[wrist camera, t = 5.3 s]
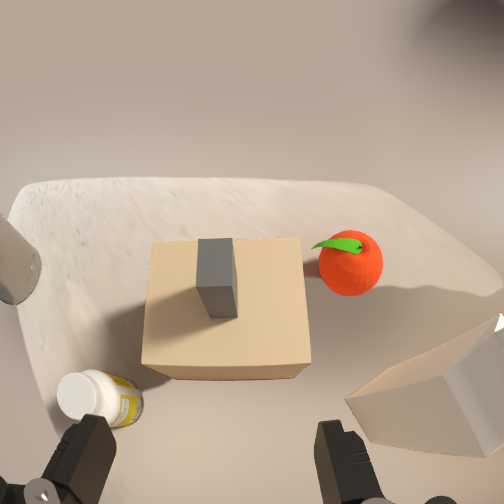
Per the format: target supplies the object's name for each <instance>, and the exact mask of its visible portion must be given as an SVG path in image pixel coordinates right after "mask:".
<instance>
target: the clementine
mask: <svg viewBox="0 0 504 504" xmlns="http://www.w3.org/2000/svg"><path fill="white" fill-rule="evenodd" d="M316 247H323V248H322V250H321V253H320V256H319V270H320V274H321V277H322V278H323V280H324V282H325V283H326V285H327V286H328V287H329V288H330V289H331V290H333V291H335V292H336V293H338V294H341V295H346V296H357V295H361V294H363V293H365V292H367V291H369V290H370V289H371V288H372V287H373V286H374V285H375V284H376V283H377V281H378V279H379V278H380V275H381V273H382V268H383V260H382V253H381V250H380V248H379V246H378V245H377V243H376V242H375V241H374V240H373V239H372V238H371V237H369V236H368V235H366V234H365V233H362V232H359V231H353V230H348V231H343V232H340V233H338V234H336V235H334V236H332V237H331V238H330V239H329V240H326V241H323V242H321V243H318V244H317V245H315V246H314V247H313V248H316ZM313 248H312V249H313Z"/></svg>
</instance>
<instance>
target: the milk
mask: <svg viewBox="0 0 504 504" xmlns="http://www.w3.org/2000/svg"><path fill="white" fill-rule="evenodd" d="M344 400H345V401H346V403H347V404H348V406H349V408H350V409H351V411H352V413H353V414H354V416H355V418H356V419H357V421H358V423H359V424H360V426H361V428H362V429H363V431H364V432H365V434H366V436H367V437H368V439H369V441H370V442H371V443H375V444H381V445H385V446H391V447H396V448H402V449H408V450H414V451H421V452H428V453H435V454H444V455H453V456H464V457H479V458H486V457H488V456H490V455H491V454H492V453H494V452H495V451H497V449H499V448H501V447H502V446H503V445H504V317H503V315H502V314H501V313H500V314H498V315H497V316H495V317H493V318H491V319H490V320H488V321H486V322H484V323H482V324H481V325H479V326H477V327H475V328H473V329H471V330H470V331H468V332H466V333H464V334H462V335H460V336H458V337H456V338H454V339H452V340H450V341H448V342H446V343H444V344H442V345H440V346H438V347H436V348H433V349H431V350H429V351H427V352H425V353H423V354H420V355H418V356H416V357H414V358H411V359H409V360H407V361H405V362H402V363H400V364H397V365H395V366H392V367H390V368H388V369H386V370H385V371H383V372H382V373H381V374H379V375H378V376H377V377H375V378H374V379H372V380H371V381H370V382H368V383H367V384H365V385H364V386H362V387H361V388H359V389H358V390H357V391H355V392H354V393H352V394H351V395H349V396H348V397H346V398H345V399H344Z"/></svg>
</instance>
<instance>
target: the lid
mask: <svg viewBox="0 0 504 504" xmlns="http://www.w3.org/2000/svg"><path fill="white" fill-rule="evenodd" d="M310 363H311V351H310V338H309V326H308V314H307V304H306V293H305V283H304V273H303V264H302V255H301V246H300V238H263V239H232V238H221V239H198V241H171V242H153V246H152V253H151V261H150V269H149V277H148V286H147V295H146V305H145V316H144V328H143V342H142V358H141V364H143V365H151V366H172V367H265V366H286V365H302V364H310Z"/></svg>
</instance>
